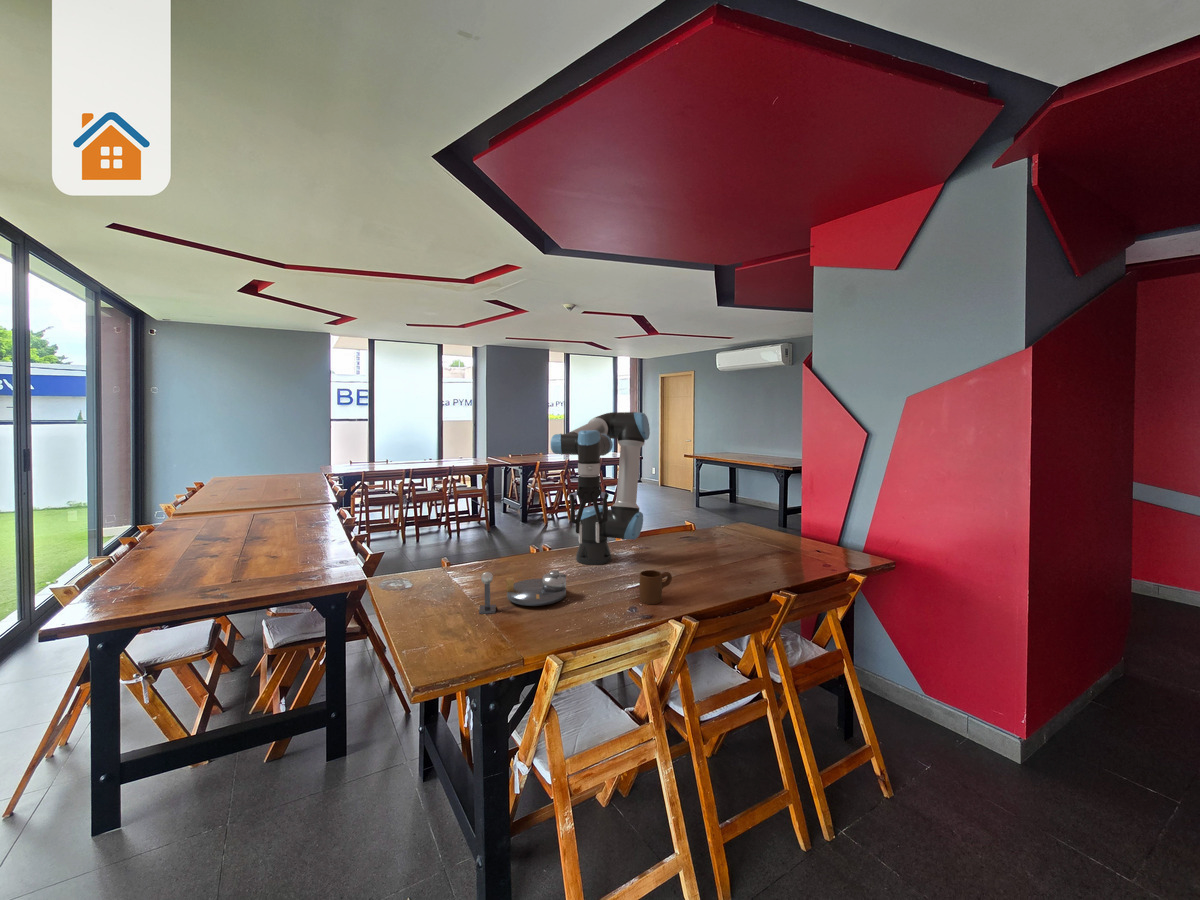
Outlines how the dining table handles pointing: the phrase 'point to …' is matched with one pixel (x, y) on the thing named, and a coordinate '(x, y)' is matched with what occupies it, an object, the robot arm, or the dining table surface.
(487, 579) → the globe lamp
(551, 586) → the cover
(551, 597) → the turntable
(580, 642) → the dining table surface
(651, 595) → the mug
